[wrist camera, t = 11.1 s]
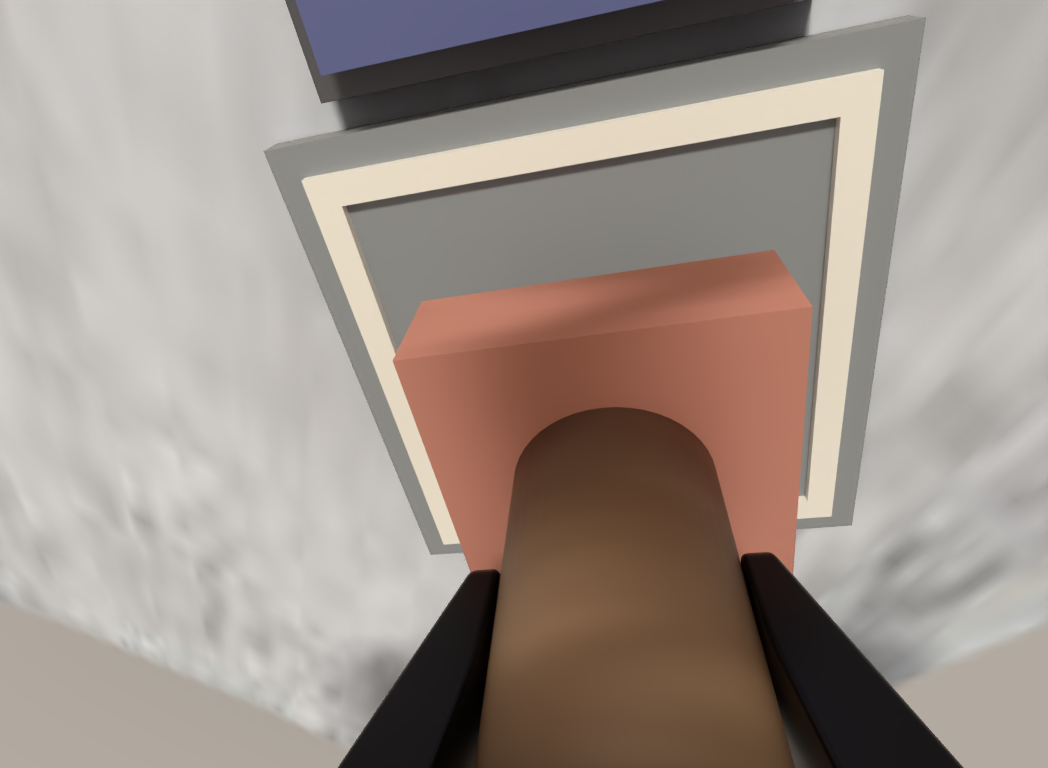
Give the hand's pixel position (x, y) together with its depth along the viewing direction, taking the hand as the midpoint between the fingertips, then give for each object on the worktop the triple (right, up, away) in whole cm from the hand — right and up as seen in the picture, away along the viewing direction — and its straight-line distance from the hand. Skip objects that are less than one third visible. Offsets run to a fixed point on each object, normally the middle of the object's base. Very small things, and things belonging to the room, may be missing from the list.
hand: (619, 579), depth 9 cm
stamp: (0, +2, +3) cm, 4 cm away
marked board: (0, +4, +5) cm, 6 cm away
